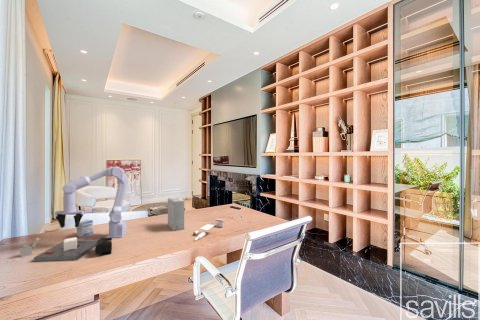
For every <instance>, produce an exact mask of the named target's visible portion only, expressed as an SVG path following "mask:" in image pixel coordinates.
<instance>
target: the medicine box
mask: <svg viewBox="0 0 480 320" xmlns="http://www.w3.org/2000/svg"><path fill="white" fill-rule="evenodd" d="M93 233H94V220H93V219H86V220H83V221H80V223H79V226H78V227H76V237H77V238H78V237H79V238H84V237H86V236H89V235H92V234H93Z"/></svg>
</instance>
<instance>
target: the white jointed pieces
mask: <svg viewBox="0 0 480 320" xmlns="http://www.w3.org/2000/svg"><path fill="white" fill-rule="evenodd" d="M214 221H215V222H214ZM214 221H212V220H211V223H210V224H209V223H207V224H205V225H204V226H202V227H200V230H205V231H202V232H200V233H199V230H195V231H194V232H193V233H192V235H193V236H196V237H195V238H194V239H193V240H194V241H195V242H196V241H197V240H201V239H203V238H204V237H205V236H207V233H206V231H209V230H210V229H212V228H213V227H218V228H222V227H223V228H225V219H221V218H215V219H214Z"/></svg>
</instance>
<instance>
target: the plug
mask: <svg viewBox="0 0 480 320" xmlns="http://www.w3.org/2000/svg"><path fill="white" fill-rule="evenodd" d="M63 241H64V251H66V250H71V249H73V250H74V249H76V248H77V241H78V237H77V236H75V237H71V238H65V239H64V240H63Z"/></svg>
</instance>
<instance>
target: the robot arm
mask: <svg viewBox="0 0 480 320" xmlns="http://www.w3.org/2000/svg"><path fill="white" fill-rule="evenodd" d="M111 176H113V177H114V178H115V179H117V181H118V185H117V190H116V194H115V198H114V202H113V206H112V208H111V211H110V212H109V215H108V218H109V221H108V235H107V236H105V238H110V237H112V239H113V238H123V237H124V236H125V235H126V234H127V222H126V221H123V220H122V217H123V216H122V210H123V209H122V208H123V203H124V198H125V194H126V191H127V186H128V182H129V180H128V177H127V174H126V172H125V171H124V170H123V169H122V168H121V167H120V166H118V165H117V166H113V167H108V168H106V169H103V170H101V171H98V172H95V173H94V174H92V175H90V176H86V175H84V176H82V175H81V176H79V178H77V179H75V180H70V182H65V184H64V185H63V186H62V191H63V192H62V193H63V196H62V206H63V209H62V210H56V211H54V215H55V219H56V220H57V221H58V224H59V226H60V228H61V229H63V228H65V227H66V216H68V215H73V219H74V227H75V228H77V227H78V226H79V223H80V222H81V219H82V217H83V216H84V214H85V210H79V209H77V208H76V207H77V201H76V200H77V198H76V197H77V195H76V190H81V189H83V188H85V187H88V186H90V185H91V183H92V182H93V181H96V180H98V179H101V178H103V177H111Z"/></svg>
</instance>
